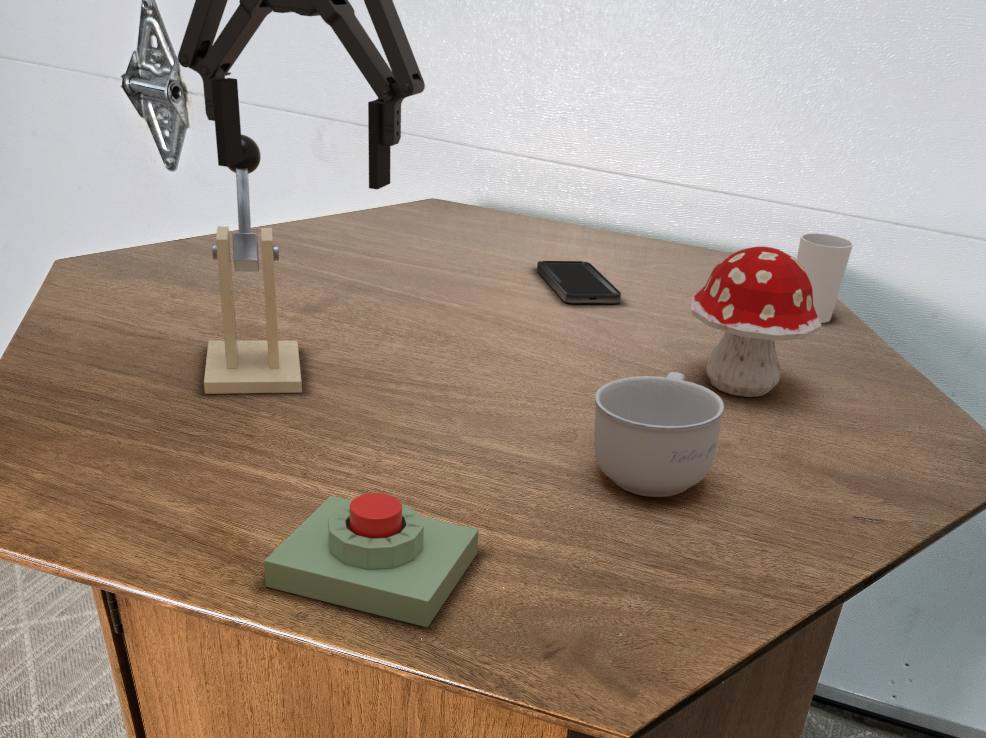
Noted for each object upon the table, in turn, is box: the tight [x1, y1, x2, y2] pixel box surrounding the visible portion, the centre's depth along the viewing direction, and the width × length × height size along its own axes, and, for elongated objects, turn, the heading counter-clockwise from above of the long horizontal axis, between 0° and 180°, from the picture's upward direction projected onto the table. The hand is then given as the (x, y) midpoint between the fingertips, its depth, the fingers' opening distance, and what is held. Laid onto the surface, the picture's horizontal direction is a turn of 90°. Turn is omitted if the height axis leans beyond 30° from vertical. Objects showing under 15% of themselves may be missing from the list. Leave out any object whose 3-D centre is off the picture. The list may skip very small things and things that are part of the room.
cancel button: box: [350, 492, 403, 539], centre depth 68 cm, size 4×4×2 cm
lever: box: [226, 134, 262, 273], centre depth 94 cm, size 13×4×4 cm
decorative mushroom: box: [690, 245, 822, 398], centre depth 103 cm, size 14×14×15 cm
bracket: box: [203, 226, 303, 395], centre depth 95 cm, size 11×9×14 cm
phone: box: [536, 260, 622, 305], centre depth 133 cm, size 8×1×15 cm
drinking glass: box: [796, 232, 854, 324], centre depth 129 cm, size 7×7×10 cm
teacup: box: [593, 371, 725, 498], centre depth 85 cm, size 14×11×8 cm
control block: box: [263, 495, 479, 628], centre depth 70 cm, size 12×10×4 cm
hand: (304, 175), depth 82 cm, fingers open, 13 cm apart
